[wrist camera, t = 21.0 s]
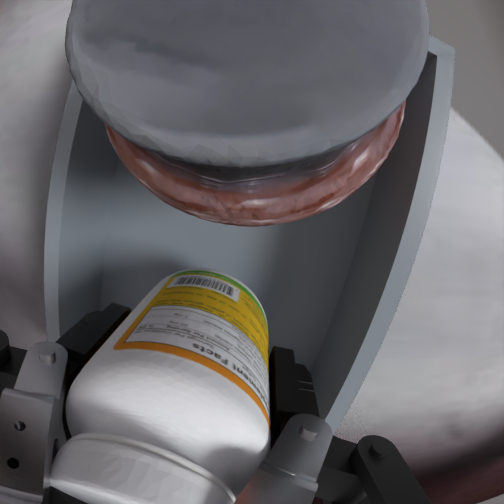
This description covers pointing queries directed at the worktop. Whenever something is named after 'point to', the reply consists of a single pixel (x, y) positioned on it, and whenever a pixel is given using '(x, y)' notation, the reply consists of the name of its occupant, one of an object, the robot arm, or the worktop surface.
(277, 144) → the supplement bottle
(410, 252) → the tote
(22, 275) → the worktop surface
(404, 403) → the worktop surface
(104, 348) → the supplement bottle
